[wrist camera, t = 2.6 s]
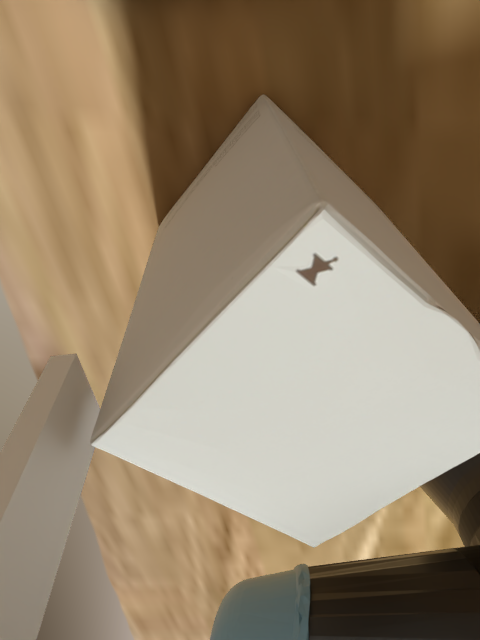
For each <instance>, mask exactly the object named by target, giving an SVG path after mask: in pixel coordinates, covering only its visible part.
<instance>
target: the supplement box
mask: <svg viewBox="0 0 480 640" xmlns="http://www.w3.org/2000/svg"><path fill="white" fill-rule="evenodd" d="M90 444H91V445H92V446H94V447H96V448H99V449H101V450H104V451H106V452H108V453H110V454H113V455H115V456H117V457H119V458H121V459H124V460H126V461H128V462H130V463H132V464H134V465H137V466H139V467H141V468H143V469H145V470H148V471H150V472H152V473H154V474H156V475H159V476H161V477H163V478H165V479H167V480H170V481H172V482H174V483H176V484H179V485H181V486H183V487H185V488H187V489H190V490H192V491H194V492H196V493H199V494H201V495H203V496H205V497H207V498H209V499H211V500H214V501H216V502H218V503H220V504H222V505H224V506H226V507H228V508H231V509H233V510H235V511H237V512H239V513H241V514H244V515H246V516H248V517H250V518H252V519H254V520H257V521H259V522H261V523H263V524H265V525H267V526H270V527H272V528H274V529H276V530H278V531H280V532H282V533H285V534H287V535H289V536H291V537H293V538H295V539H297V540H299V541H301V542H303V543H306V544H308V545H310V546H312V547H316V546H318V545H319V544H321V543H323V542H325V541H327V540H329V539H331V538H333V537H334V536H336V535H338V534H340V533H342V532H344V531H345V530H347V529H349V528H350V527H352V526H354V525H355V524H357V523H359V522H361V521H362V520H364V519H365V518H367V517H369V516H370V515H372V514H373V513H375V512H376V511H378V510H380V509H381V508H383V507H385V506H386V505H388V504H390V503H392V502H393V501H395V500H397V499H399V498H400V497H402V496H404V495H405V494H407V493H409V492H410V491H412V490H414V489H416V488H417V487H419V486H421V485H423V484H425V483H426V482H428V481H430V480H432V479H434V478H435V477H437V476H439V475H441V474H443V473H444V472H446V471H448V470H450V469H451V468H453V467H455V466H457V465H459V464H461V463H463V462H464V461H466V460H468V459H470V458H472V457H474V456H475V455H477V454H479V453H480V323H479V322H478V321H477V320H476V319H475V318H474V317H473V315H472V314H471V313H470V312H469V311H468V310H467V309H466V307H465V306H464V305H463V304H462V303H461V302H460V301H459V299H458V298H457V297H456V296H455V295H454V294H453V292H452V291H451V290H450V289H449V288H448V287H447V286H446V284H445V283H444V282H443V281H442V280H441V279H440V278H439V276H438V275H437V274H436V273H435V272H434V271H433V270H432V268H431V267H430V266H429V265H428V264H427V263H426V261H425V260H424V259H423V258H422V257H421V256H420V255H419V253H418V252H417V251H416V250H415V249H414V248H413V246H412V245H411V244H410V243H409V242H408V241H407V240H406V238H405V237H404V236H403V235H402V234H401V233H400V231H399V230H398V229H397V228H396V227H395V226H394V225H393V223H392V222H391V221H390V220H389V219H388V217H387V216H386V215H385V214H384V213H383V212H382V211H381V209H380V208H379V207H378V206H377V205H376V204H375V203H374V202H373V201H372V200H371V199H370V198H369V197H368V196H367V195H366V194H365V193H364V192H363V191H362V190H361V189H360V188H359V187H358V186H357V185H356V184H355V183H354V182H353V181H352V180H351V179H350V178H349V177H348V176H347V175H346V174H345V173H344V172H343V171H342V170H341V169H340V168H339V167H338V166H337V165H336V164H335V163H334V162H333V161H332V160H331V159H330V158H329V157H328V156H327V155H326V154H325V153H324V152H323V151H322V150H321V149H320V148H319V147H318V146H317V145H316V144H315V143H314V142H313V141H312V140H311V139H310V138H309V137H308V136H307V135H306V134H305V133H304V132H303V131H302V130H301V129H300V128H299V127H298V126H297V125H296V124H295V123H294V122H293V121H292V120H291V119H290V118H289V117H288V116H287V115H286V114H285V113H284V112H283V111H282V110H281V109H280V108H279V107H278V106H277V105H276V104H275V103H274V102H273V101H272V100H270V99H269V98H268V97H267V96H266V95H261V96H260V97H259V98H258V99H257V100H256V102H255V103H254V104H253V105H252V107H251V108H250V109H249V110H248V112H247V113H246V114H245V115H244V117H243V118H242V119H241V121H240V122H239V123H238V124H237V126H236V127H235V128H234V130H233V131H232V132H231V133H230V135H229V136H228V137H227V138H226V140H225V141H224V142H223V144H222V145H221V146H220V147H219V149H218V150H217V151H216V153H215V154H214V155H213V156H212V158H211V159H210V160H209V162H208V163H207V164H206V165H205V167H204V168H203V169H202V171H201V172H200V173H199V174H198V176H197V177H196V178H195V180H194V181H193V182H192V183H191V185H190V186H189V187H188V188H187V190H186V191H185V192H184V193H183V195H182V196H181V197H180V199H179V200H178V201H177V202H176V204H175V205H174V206H173V207H172V209H171V210H170V211H169V213H168V214H167V215H166V217H165V218H164V219H163V221H162V222H161V224H160V226H159V228H158V231H157V234H156V237H155V240H154V243H153V246H152V249H151V252H150V256H149V259H148V262H147V265H146V268H145V271H144V275H143V278H142V281H141V284H140V288H139V291H138V294H137V297H136V300H135V304H134V307H133V310H132V313H131V316H130V319H129V322H128V326H127V329H126V332H125V335H124V338H123V341H122V344H121V347H120V350H119V353H118V357H117V360H116V363H115V366H114V369H113V372H112V375H111V378H110V381H109V384H108V387H107V390H106V393H105V397H104V400H103V403H102V406H101V409H100V412H99V415H98V418H97V421H96V424H95V427H94V430H93V433H92V436H91V440H90Z"/></svg>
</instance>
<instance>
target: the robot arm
mask: <svg viewBox="0 0 480 640" xmlns="http://www.w3.org/2000/svg"><path fill="white" fill-rule="evenodd" d="M99 412H100V408H99V405H98V403H97V401H96V398H95V396H94V394H93V391H92V389H91V387H90V384H89V382H88V380H87V377H86V375H85V373H84V370H83V368H82V366H81V363H80V361H79V359H78V356H77V354H68V355H59V356H51V357H50V359H49V361H48V363H47V365H46V366H45V368H44V370H43V372H42V374H41V376H40V378H39V380H38V382H37V384H36V386H35V388H34V390H33V392H32V393H31V395H30V397H29V399H28V401H27V403H26V405H25V407H24V408H23V411H22V412H21V414H20V416H19V418H18V420H17V422H16V424H15V426H14V428H13V429H12V431H11V433H10V435H9V437H8V439H7V441H6V443H5V445H4V447H3V449H2V450H1V452H0V640H36V639H37V636H38V632H39V629H40V626H41V622H42V619H43V616H44V613H45V610H46V606H47V603H48V600H49V596H50V593H51V589H52V587H53V583H54V580H55V577H56V574H57V570H58V567H59V563H60V560H61V557H62V554H63V551H64V547H65V544H66V541H67V538H68V534H69V531H70V528H71V524H72V521H73V518H74V515H75V511H76V508H77V505H78V502H79V498H80V495H81V492H82V488H83V485H84V482H85V479H86V475H87V472H88V469H89V466H90V462H91V459H92V456H93V452H94V449H95V447H94V446H92V445H91V444H90V440H91V436H92V433H93V430H94V427H95V424H96V421H97V418H98V415H99ZM420 487H421V488H422V489H423V490H424V491H425V493H426V494H427V495H428V496H429V497H430V498H431V499H432V500H433V502H434V503H435V504H436V505H437V506H438V507H439V508H440V509H441V511H442V512H443V513H444V514H445V515H446V516H447V517H448V518H449V520H450V521H451V522H452V523H453V524H454V526H455V527H456V529H457V531H458V533H459V535H460V537H461V539H462V542H463V544H464V546H465V547H460V548H451V549H443V550H436V551H428V552H420V553H412V554H405V555H397V556H389V557H381V558H373V559H366V560H358V561H350V562H342V563H334V564H327V565H319V566H311V567H308V566H307V565H306V564H300V565H297V566H296V567H295V568H294V570H290V571H285V572H280V573H275V574H270V575H265V576H260V577H255V578H250V579H246V580H243V581H241V582H239V583H238V584H236V585H235V586H234V587H233V588H231V589H230V591H229V592H228V593H227V594H226V596H225V597H224V599H223V601H222V602H221V605H220V607H219V609H218V612H217V615H216V617H215V621H214V624H213V628H212V632H211V637H210V640H480V453H479V454H477V455H475V456H474V457H472V458H470V459H468V460H466V461H464V462H463V463H461V464H459V465H457V466H455V467H453V468H451V469H450V470H448V471H446V472H444V473H443V474H441V475H439V476H437V477H435V478H434V479H432V480H430V481H428V482H426V483H425V484H423V485H421V486H420Z"/></svg>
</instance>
